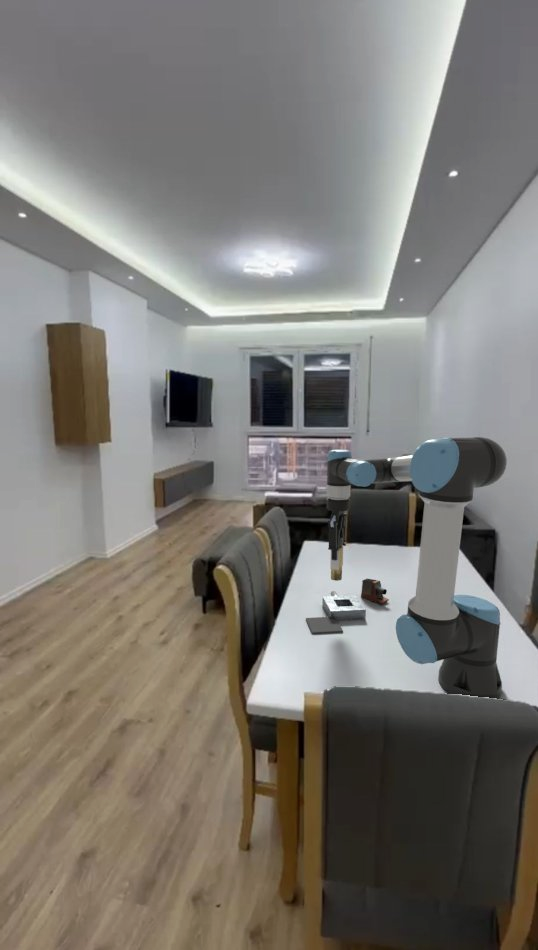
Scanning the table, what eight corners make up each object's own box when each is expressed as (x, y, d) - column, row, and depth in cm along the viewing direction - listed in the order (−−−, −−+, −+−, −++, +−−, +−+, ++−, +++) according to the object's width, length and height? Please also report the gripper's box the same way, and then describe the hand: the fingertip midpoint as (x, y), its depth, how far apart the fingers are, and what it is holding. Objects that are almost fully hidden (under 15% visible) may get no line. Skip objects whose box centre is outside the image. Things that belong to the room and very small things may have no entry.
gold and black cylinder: (343, 577, 159) (344, 537, 157) (339, 581, 156) (340, 540, 153) (332, 576, 160) (333, 535, 158) (329, 579, 157) (330, 538, 155)
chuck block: (365, 619, 160) (365, 609, 159) (330, 621, 158) (330, 611, 158) (348, 595, 179) (348, 586, 179) (317, 596, 178) (317, 587, 177)
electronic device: (382, 606, 170) (382, 586, 169) (360, 598, 177) (360, 578, 176) (389, 602, 173) (389, 582, 172) (367, 594, 180) (367, 575, 179)
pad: (342, 632, 151) (343, 630, 150) (312, 634, 149) (312, 632, 149) (334, 618, 160) (335, 616, 160) (305, 619, 159) (305, 617, 159)
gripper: (334, 492, 163) (333, 557, 166) (318, 501, 148) (317, 573, 151) (356, 494, 160) (354, 560, 163) (342, 503, 145) (340, 576, 148)
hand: (336, 566), depth 157 cm, fingers closed on gold and black cylinder, 4 cm apart
